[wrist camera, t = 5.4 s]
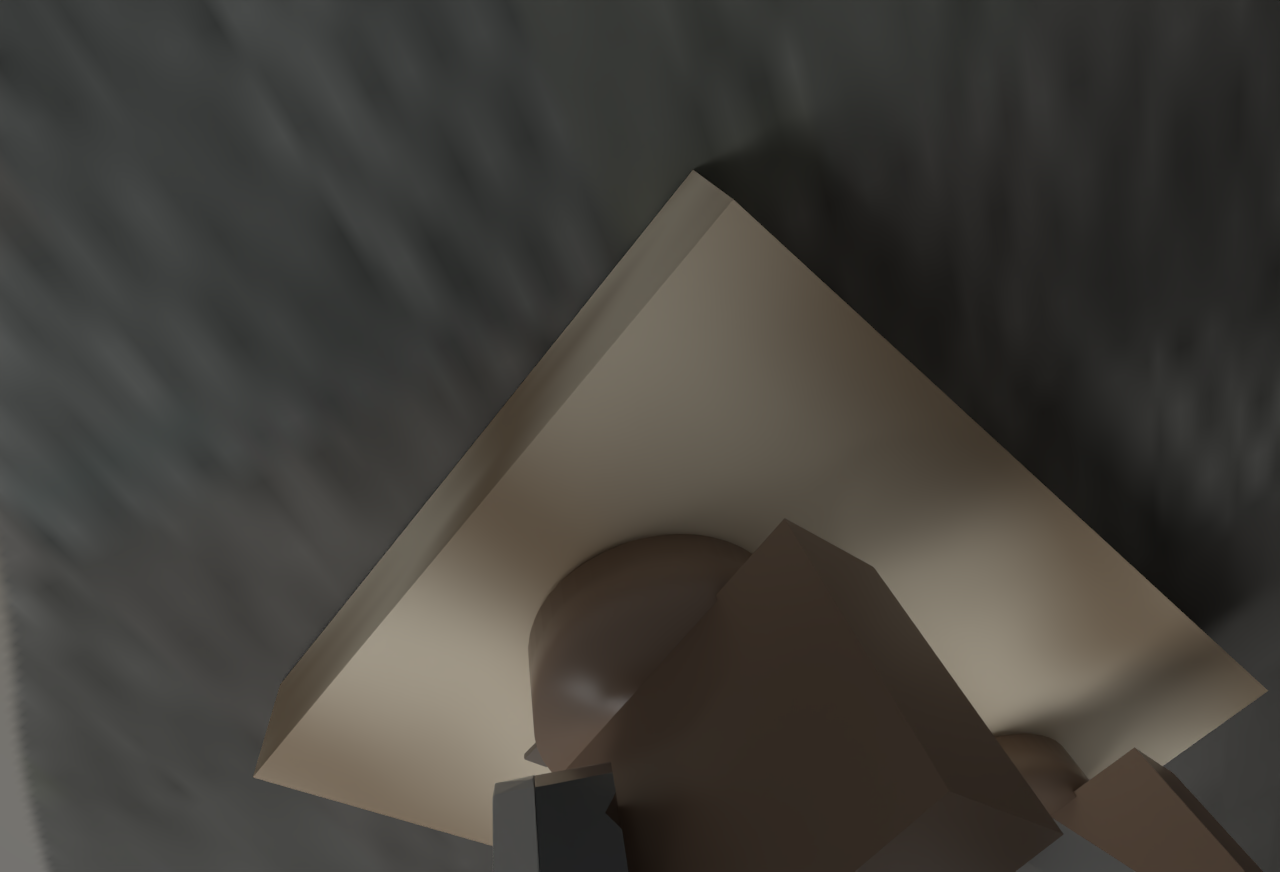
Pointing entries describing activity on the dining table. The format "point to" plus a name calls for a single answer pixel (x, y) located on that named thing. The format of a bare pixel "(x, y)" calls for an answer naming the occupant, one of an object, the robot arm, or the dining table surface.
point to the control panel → (728, 534)
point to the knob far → (1127, 809)
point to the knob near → (771, 715)
